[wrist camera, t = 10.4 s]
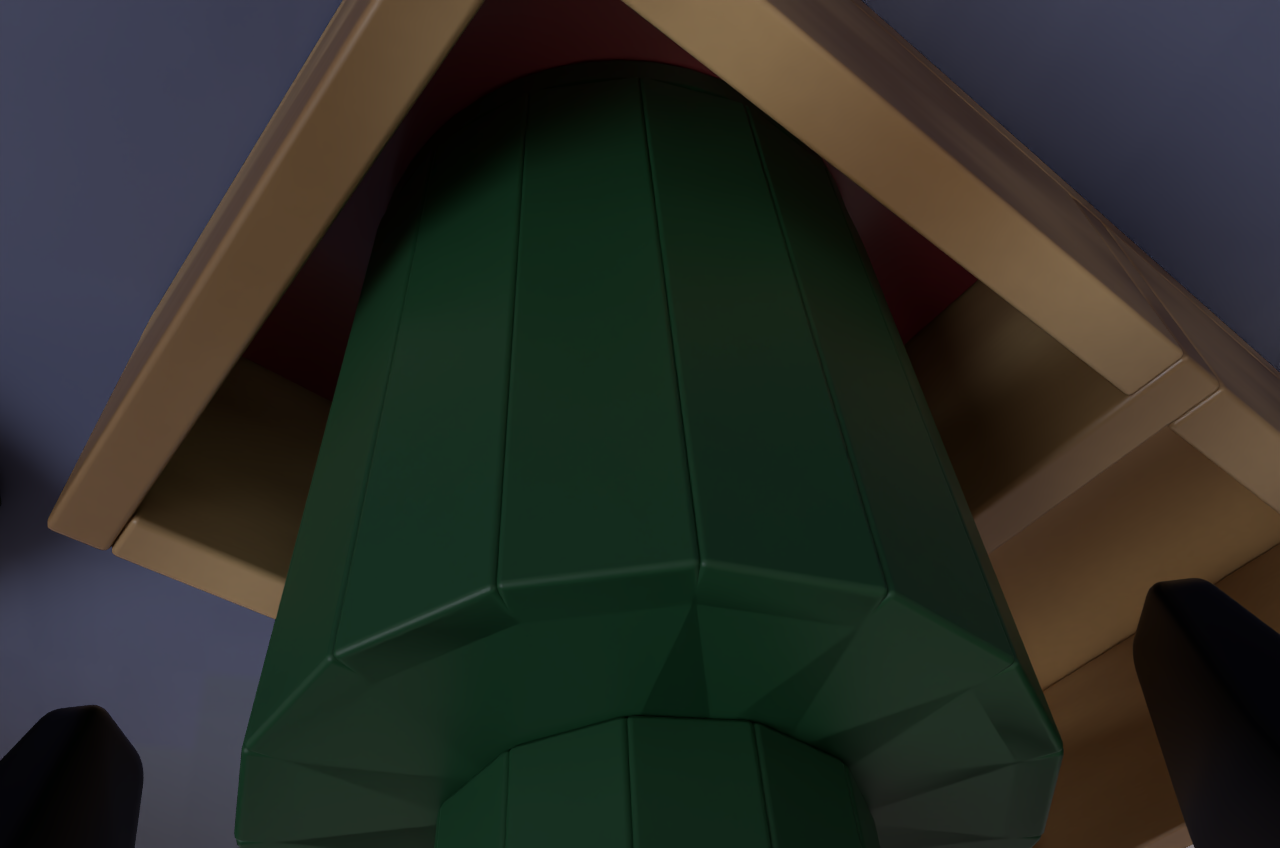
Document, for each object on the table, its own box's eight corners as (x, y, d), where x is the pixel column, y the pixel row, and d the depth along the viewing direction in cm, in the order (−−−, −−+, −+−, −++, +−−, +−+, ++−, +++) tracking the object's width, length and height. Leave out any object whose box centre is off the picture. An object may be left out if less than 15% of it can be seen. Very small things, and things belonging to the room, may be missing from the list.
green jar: (950, 246, 14) (1433, 1180, 6) (653, 520, 17) (725, 1383, 9) (564, -58, 11) (561, 906, 3) (290, 329, 14) (-39, 1316, 6)
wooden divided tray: (1387, 467, 18) (1556, 666, 15) (970, 728, 22) (1035, 924, 19) (524, -300, 10) (507, -220, 7) (150, 317, 15) (41, 530, 12)
